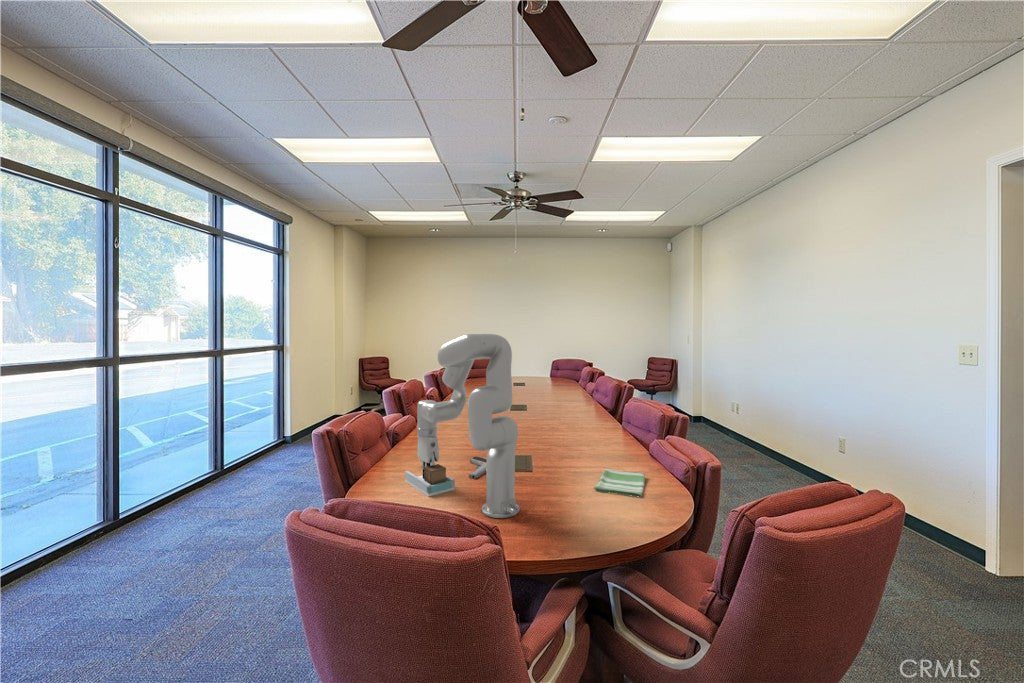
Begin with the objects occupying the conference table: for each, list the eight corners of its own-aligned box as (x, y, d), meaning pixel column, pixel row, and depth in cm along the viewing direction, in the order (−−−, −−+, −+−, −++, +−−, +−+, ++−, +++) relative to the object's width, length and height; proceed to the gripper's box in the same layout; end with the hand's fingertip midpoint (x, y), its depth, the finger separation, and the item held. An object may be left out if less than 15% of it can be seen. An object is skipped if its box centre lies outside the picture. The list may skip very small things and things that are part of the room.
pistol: (475, 454, 205) (502, 458, 199) (475, 460, 205) (502, 464, 199) (447, 469, 184) (476, 474, 178) (447, 476, 184) (477, 481, 178)
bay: (454, 489, 166) (454, 479, 166) (428, 496, 159) (428, 485, 159) (430, 475, 182) (430, 466, 182) (405, 481, 175) (405, 471, 175)
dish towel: (592, 492, 165) (592, 485, 165) (603, 473, 187) (603, 467, 187) (641, 499, 159) (641, 491, 159) (646, 479, 181) (646, 472, 181)
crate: (446, 486, 166) (446, 467, 166) (431, 490, 162) (431, 471, 162) (438, 482, 171) (438, 464, 171) (423, 485, 167) (424, 467, 167)
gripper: (445, 434, 168) (445, 481, 168) (427, 427, 180) (427, 471, 180) (427, 437, 163) (427, 486, 164) (410, 429, 175) (410, 475, 175)
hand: (427, 478), depth 172 cm, fingers closed
